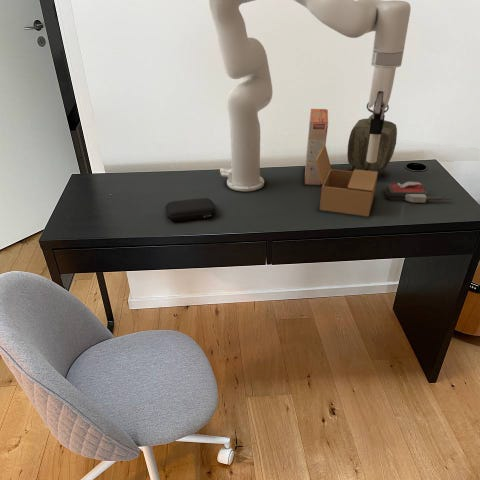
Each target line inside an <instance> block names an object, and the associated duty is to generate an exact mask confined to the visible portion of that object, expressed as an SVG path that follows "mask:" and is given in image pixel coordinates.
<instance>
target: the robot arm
mask: <svg viewBox="0 0 480 480" xmlns="http://www.w3.org/2000/svg"><path fill="white" fill-rule="evenodd" d="M254 1H256V0H208V2H209V3H208V4H209V9H210V14H211V17H212V21H213V24H214V28H215V29H214V30H215V33H216V38H217V43H218V48H219V53H220V58H221V62H222V66H223V69H224V72H225V74H226V75H227V76H228V77H229V78H230V79H233V80H239V79H242V82H240V83H238V84H237V85H235V86H234V87H232V89H231V90H230V91H229V93H228V95H227V99H226V109H227V114H228V119H229V131H230V133H229V134H230V136H229V137H230V168H222V167H221V168H220V169H219V174H220V177H223V178H227V179H226V185H227V187H228V188H229V189H231V190H232V191H233V190H234V191H238V192H254V191H258V190H259V189H262V188H263V187H264V186H265V179H264V178H263V177H262V176H261V124H260V123H261V122H260V121H259V120H260V119H259V112H260V111H261V110H263V109H264V108H266V107H267V106H268V105H269V104H270V103H271V101H272V99H273V93H274V92H273V83H272V78H271V77H272V76H271V72H270V71H271V70H270V66H269V61H268V55H267V52H266V49H265V47H264V45H263V44H262V43H261V42H260V40H258V39H257V38H254V37H248V33H247V27H246V23H245V19H244V17H243V15H242V12H241V11H240V6H241V5H243V4H247V3H250V2H251V3H252V2H254ZM293 1H294V2H296V3H298V4H300V5H301V6H302V7H304V8H306V9H307V10H308V11H309V13H311V14H312V15H313V16H314V17H315V18H316V19H317V20H318V21H319V22H321V23H322V24H323V25H324V26H326V27H328V28H330V29H332V30H333V31H335V32H337V33H339V34H341V36H344V37H347V38H349V39H350V38H351V39H357V38H360V37H362V36H364V35H366V34H368V33H372V32H375V33H374V39H373V47H372V55H371V61H370V62H371V63H370V65H371V66H372V67H374V69H373V74H372V80H371V86H370V92H369V99H368V102H369V104H368V103H367V104H368V108H369V109H371V108H373V109H372V110H373V113H372V114H373V115H372V114H371V115H372V118H371V124H370V131H369V133H370V134H377V135H380V134H381V132H382V129H383V124H384V120H385V117H386V115H385V113H384V110H386V109H387V105H388V106H389V102H390V98H391V95H392V91H393V86H394V81H395V76H396V70H397V68H399V67H402V62H403V56H404V51H405V46H406V40H407V35H408V34H407V33H408V27H409V22H410V16H411V11H412V10H411V4H410V3H409V2H408V1H405V0H293ZM380 110H382V112H381V111H380ZM383 113H384V119H383Z"/></svg>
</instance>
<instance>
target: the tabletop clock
mask: <svg viewBox="0 0 480 480" xmlns="http://www.w3.org/2000/svg"><path fill="white" fill-rule="evenodd" d="M368 104H369V101H368V102H367V104H366V109H367V111H368V112H370V113H371V115H369V117H368V118H360V119H358V121H357V122H356V123H355V124H354V126H353V127H352V128H351V131H350V134H349V138H348V141H347V153H346V154H347V155H346V157H347V162H348V164H349V165H350V166H351V171H354V169H357V168H358V169H362V170H365V171H381V175H382V176H386V175H387V171H386V168H387V166H388V165H389V163H390V162H391V160H392V158H393V156H394V153H395V149H396V146H397V138H398V128H397V124H396V123H394V122H393V121H390V120H385V119H384V124H383V129H382V132H381V137H380V143H379V149H378V155H377V161H376V162H375V163H369V162H367V161H366V159H367V152H368V145H369V139H370V133H369V131H370V124H371V118H372V115H373V109H371V108H369V107H368ZM389 109H390V106H389V104H388V105H387V107H386V109H385V113H387V112H388V111H389Z"/></svg>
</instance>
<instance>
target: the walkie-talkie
mask: <svg viewBox="0 0 480 480" xmlns="http://www.w3.org/2000/svg"><path fill="white" fill-rule="evenodd" d="M384 193H385V195H384V197H385V198H387V200H395V201H396V200H399V201H401V200H403V201H406V202H409V203H422V204H423V203H424V204H425V203H427V202H428V201H442V200H443V201H444V200H446V201H447V200H452V197H451V196H427V194H428V191H426V187H425V186H424V185H423V184H422V183H421V182H419V181H406V182H404V183H402V184H401V183H400V182H397V183H387V184H386V187H385V191H384Z"/></svg>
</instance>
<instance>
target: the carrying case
mask: <svg viewBox="0 0 480 480" xmlns="http://www.w3.org/2000/svg"><path fill="white" fill-rule="evenodd" d="M164 209H165V212H166V216H167V219H168V220H170V221H172V222H182V221H190V220H198V219H207V218H211V217H214V216H215V215H216V214H217V208H216V206H215V204H214V201H213V200H212V199H211V198H209V197H200V198H191V199H184V200H183V199H182V200H181V199H180V200H173V201H169V202H167V203H166V205H165V206H164Z"/></svg>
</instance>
